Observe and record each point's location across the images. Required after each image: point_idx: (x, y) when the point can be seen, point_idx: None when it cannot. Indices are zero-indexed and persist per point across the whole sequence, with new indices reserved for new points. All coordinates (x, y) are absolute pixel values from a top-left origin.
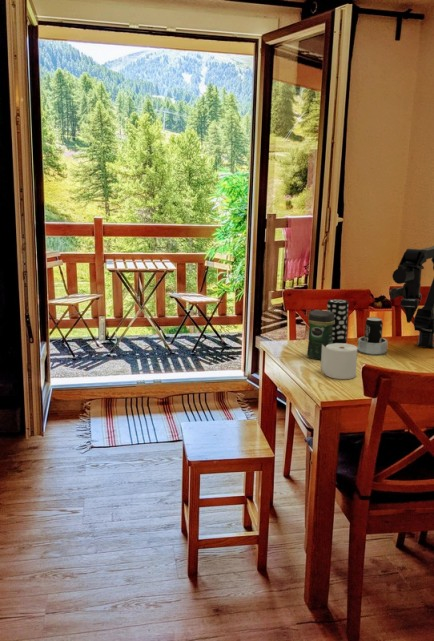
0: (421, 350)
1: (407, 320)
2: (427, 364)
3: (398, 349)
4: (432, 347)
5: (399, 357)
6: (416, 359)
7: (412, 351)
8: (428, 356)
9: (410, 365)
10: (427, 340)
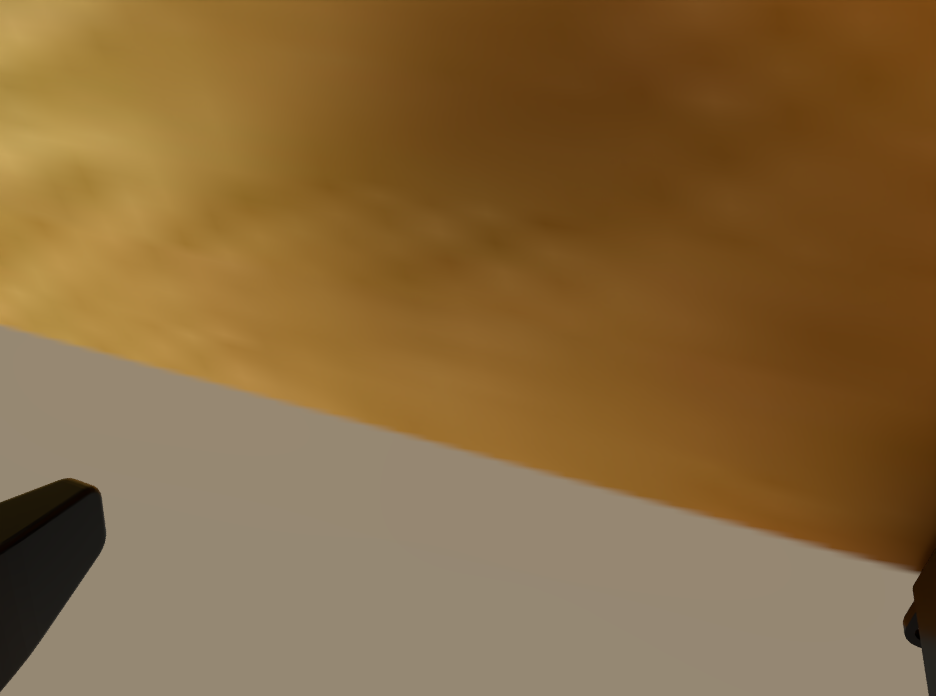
0: (763, 449)
1: (1, 520)
2: (132, 352)
3: (785, 98)
4: (905, 626)
5: (281, 59)
6: (274, 278)
7: (679, 311)
8: (459, 449)
9: (6, 159)
10: (933, 650)
